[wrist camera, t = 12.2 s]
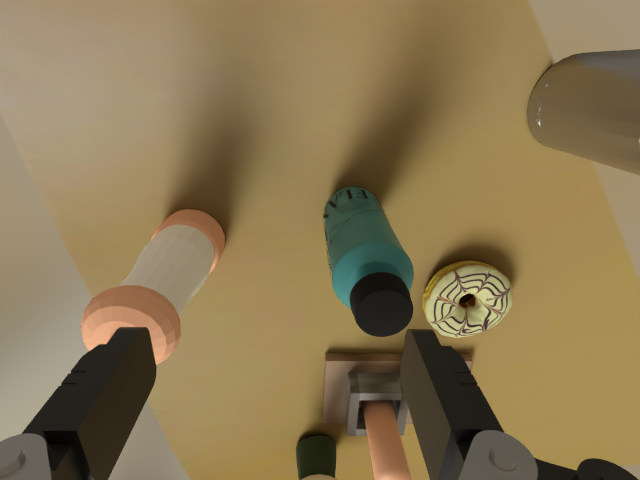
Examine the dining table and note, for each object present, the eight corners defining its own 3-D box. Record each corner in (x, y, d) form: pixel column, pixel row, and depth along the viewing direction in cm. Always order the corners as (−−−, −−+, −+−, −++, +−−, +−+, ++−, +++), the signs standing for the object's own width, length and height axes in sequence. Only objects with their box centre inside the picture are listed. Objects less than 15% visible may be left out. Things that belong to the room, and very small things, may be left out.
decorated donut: (479, 331, 50) (491, 350, 47) (406, 315, 48) (414, 333, 45) (517, 267, 46) (534, 282, 42) (439, 246, 44) (450, 261, 41)
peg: (390, 383, 51) (413, 468, 40) (387, 404, 53) (408, 490, 42) (361, 383, 51) (377, 468, 40) (359, 404, 52) (373, 491, 42)
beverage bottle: (367, 171, 40) (418, 253, 22) (386, 222, 43) (447, 335, 24) (312, 194, 41) (317, 292, 23) (334, 243, 43) (355, 367, 25)
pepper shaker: (163, 202, 41) (55, 300, 23) (229, 215, 42) (173, 319, 24) (159, 259, 44) (61, 384, 26) (221, 270, 44) (166, 398, 27)
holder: (468, 353, 51) (484, 381, 47) (452, 414, 56) (465, 444, 52) (325, 353, 50) (327, 381, 46) (322, 415, 55) (323, 446, 51)
